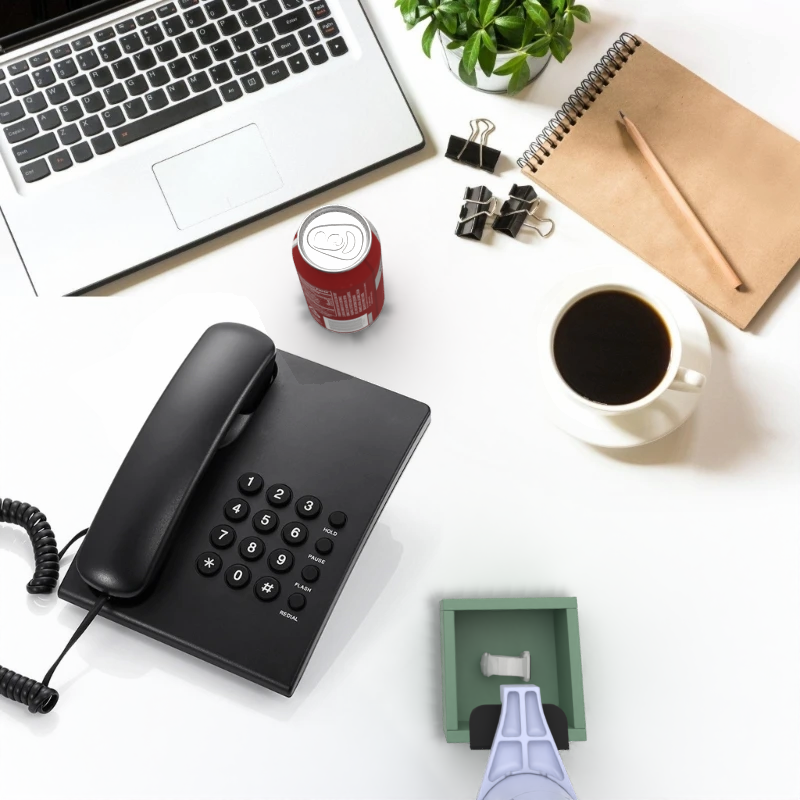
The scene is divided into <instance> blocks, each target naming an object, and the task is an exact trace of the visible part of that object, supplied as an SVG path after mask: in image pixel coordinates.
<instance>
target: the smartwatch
mask: <svg viewBox="0 0 800 800" xmlns="http://www.w3.org/2000/svg"><path fill="white" fill-rule="evenodd" d="M480 665H481V672H482V673H483V675H484V676H488V677H489V676H491V675H493V674H494V675H502V676H520V679H521V680H523V681H526V682H528V681H530V679H531V656H530V654H529V651H524V652H521V653H520V656H514V657H513V656H501V655H490V654H489V653H487V652H484V654H483V655H482V657H481V662H480Z"/></svg>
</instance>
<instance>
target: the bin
mask: <svg viewBox="0 0 800 800" xmlns="http://www.w3.org/2000/svg"><path fill="white" fill-rule="evenodd" d="M439 628H440V629H439V633H440V637H439V638H440V668H441V669H440V671H441V673H440V675H441V702H442V703H441V708H442V709H441V711H442V712H441V713H442V732H443V735H444V739H445V741H446V743H447V744H470V736H469V718H470V714H471V712H472V710H473V709H474V708H476V707H477V706H480V705H484V704H502V703H501V700H500V685H518V684H523V685H524V684H534V685H536V686H538V687H539V688H540V696H541V704H554V705H556V706H558V707H559V708H561V709H562V710H563V712H564V713H565V715H566V717H567V721H568V735H569V742H587V741H588V737H587V722H586V708H585V694H584V693H585V692H584V680H583V668H582V653H581V652H582V651H581V637H580V624H579V611H578V598H577V596H547V597H545V596H543V597H542V596H540V597H537V596H536V597H484V598H483V597H482V598H481V597H480V598H479V597H477V598H475V597H474V598H442V599H441V600H439ZM524 651H529V654H530V656H531V679H530V681H528V682H526V681H523V680H521V679H520V676H502V675H494V674H493V675H491V676H489V677H488V676H484V675H483V673H482V672H481V665H480V662H481V657H482V655H483V654H484V652H487V653H489V654H490V655H501V656H513V657H514V656H520V653H521V652H524Z"/></svg>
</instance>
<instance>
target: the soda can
mask: <svg viewBox="0 0 800 800" xmlns="http://www.w3.org/2000/svg"><path fill="white" fill-rule="evenodd" d="M291 257H292V261H293V264H294V267H295V271H296V274H297V278H298V280H299V283H300V286H301V289H302V291H303V292H302V293H303V296H304V300H305V302H306V304H307V309H308V311H309V313H310V315H311V317H312V318H313V320H314V321H315V322H316V323H317V324H318V325H319V326H320V327H321V328H323V329H325V330H327V331H329V332H332V333H335V334H340V335H341V334H342V335H347V334H348V335H349V334H356V333H359V332H361V331H363V330H365V329H367V328H368V327H370V326H371V325H372V324H374V323H375V321H376V320H377V319H378V318H379V317H380V315H381V313H382V311H383V308H384V304H385V298H386V297H385V296H386V295H385V283H384V281H385V280H384V269H383V267H384V266H383V254H382V243H381V238H380V235H379V233H378V230H377V229H376V227H375V226H374V225H373V223H372V222H371V221H370V220H369V219H368V218H367V217H366V216H364V215H363V214H362V213H361V212H360V211H358V210H356V208H353V207H352V206H348V205H345V204H340V203H330V204H325V205H322V206H319V207H317V208H315V209H313V210H312V211H310V213H308V214H307V215H306V216H305V217H304V218H303V220H302V221H301V223H300V225H299V227H298V229H297V230H296V232H295V234H294V236H293V240H292V244H291Z"/></svg>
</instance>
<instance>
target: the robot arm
mask: <svg viewBox="0 0 800 800" xmlns="http://www.w3.org/2000/svg"><path fill="white" fill-rule="evenodd" d="M500 700H501V703H502V704H484V705H480V706H477V707H476V708H474V709H473V710H472V712H471V714H470V718H469V736H470V743H469V749H470V750H471V751H489V753H488V757H487V760H486V764H485V768H484V770H483V775H482V777H481V781H480V783H479V788H478V791H477V794H476V797H475V800H579V799H578V796H577V794H576V791H575V789H574V787H573V784H572V782H571V780H570V779H571V778H570V776H569V774H568V772H567V769H566V767H565V765H564V761H563V760H562V757H561V754H560V752H559V751H570V741H569V735H568V721H567V717H566V715H565V713H564V712H563V710H562V709H561V708H559V707H558V706H556V705H554V704H541V696H540V688H539V687H538V686H536V685H534V684H524V685H523V684H518V685H500Z"/></svg>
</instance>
